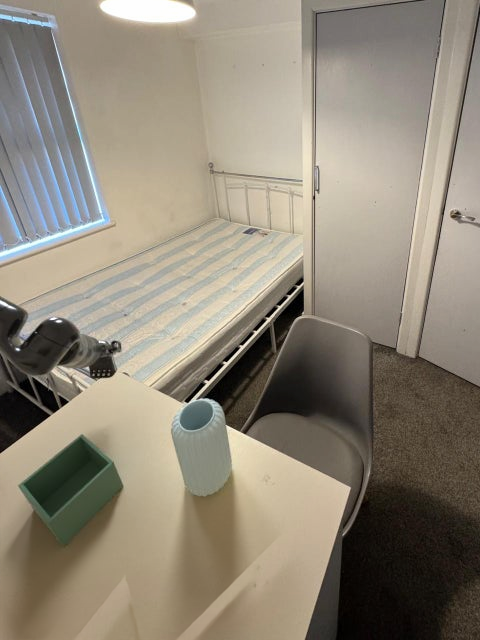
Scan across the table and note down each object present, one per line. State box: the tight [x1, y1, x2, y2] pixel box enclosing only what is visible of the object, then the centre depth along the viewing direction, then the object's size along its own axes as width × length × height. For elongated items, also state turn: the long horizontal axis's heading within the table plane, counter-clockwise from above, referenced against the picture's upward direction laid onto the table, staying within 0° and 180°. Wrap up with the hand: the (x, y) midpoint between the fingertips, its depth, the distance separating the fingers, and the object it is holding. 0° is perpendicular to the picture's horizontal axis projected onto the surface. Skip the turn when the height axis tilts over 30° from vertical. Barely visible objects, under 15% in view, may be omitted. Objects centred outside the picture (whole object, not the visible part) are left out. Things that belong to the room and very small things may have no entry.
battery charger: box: [88, 340, 118, 380], centre depth 89 cm, size 7×4×11 cm, turn 93°
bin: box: [17, 433, 124, 548], centre depth 73 cm, size 13×13×10 cm
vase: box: [170, 397, 233, 497], centre depth 75 cm, size 12×12×22 cm
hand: (98, 354), depth 90 cm, fingers closed on battery charger, 7 cm apart
